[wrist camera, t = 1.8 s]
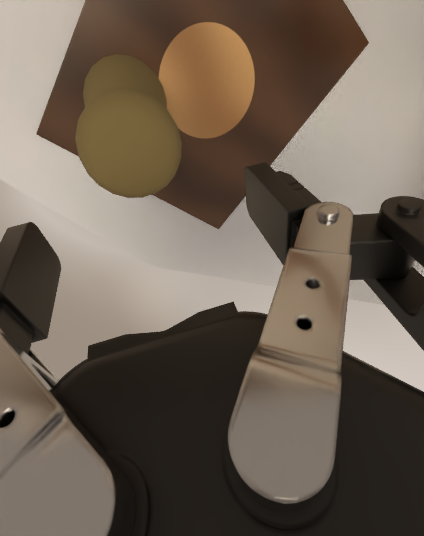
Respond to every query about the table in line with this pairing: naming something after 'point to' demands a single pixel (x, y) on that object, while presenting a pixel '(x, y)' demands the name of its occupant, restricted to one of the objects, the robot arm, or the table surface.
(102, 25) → the placemat
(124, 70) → the pepper shaker
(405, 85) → the table surface
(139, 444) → the robot arm
